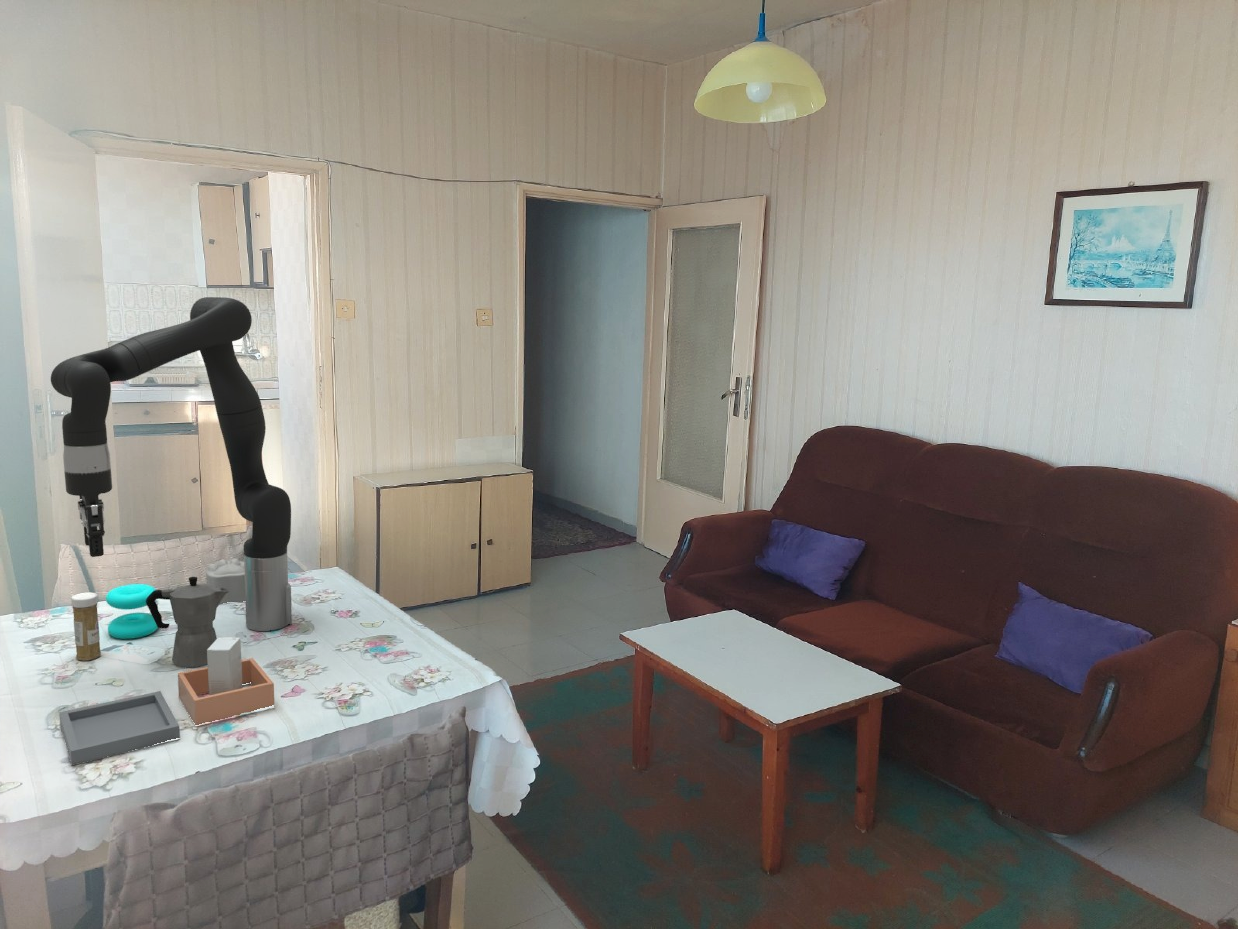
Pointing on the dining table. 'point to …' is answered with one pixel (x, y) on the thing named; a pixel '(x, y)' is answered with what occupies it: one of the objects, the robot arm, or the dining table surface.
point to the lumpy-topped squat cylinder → (228, 579)
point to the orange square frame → (224, 694)
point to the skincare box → (224, 665)
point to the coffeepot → (190, 620)
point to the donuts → (133, 622)
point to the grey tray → (117, 727)
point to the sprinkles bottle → (86, 626)
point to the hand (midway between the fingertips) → (94, 550)
